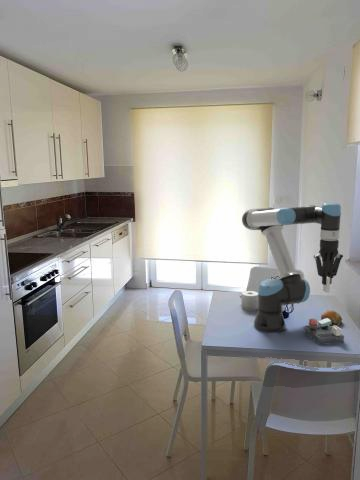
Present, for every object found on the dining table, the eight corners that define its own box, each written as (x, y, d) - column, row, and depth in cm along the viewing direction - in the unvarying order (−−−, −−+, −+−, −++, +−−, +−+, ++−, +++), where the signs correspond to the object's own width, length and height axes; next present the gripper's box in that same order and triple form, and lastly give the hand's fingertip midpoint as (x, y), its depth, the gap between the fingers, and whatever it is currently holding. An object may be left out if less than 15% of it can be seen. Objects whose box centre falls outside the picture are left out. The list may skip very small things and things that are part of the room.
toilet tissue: (243, 302, 226) (244, 288, 224) (261, 308, 216) (261, 293, 214) (233, 305, 220) (233, 291, 219) (251, 312, 210) (251, 297, 209)
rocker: (322, 327, 179) (321, 324, 179) (318, 324, 183) (317, 321, 182) (331, 323, 180) (331, 320, 179) (327, 320, 183) (327, 317, 183)
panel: (318, 344, 169) (319, 336, 169) (304, 331, 183) (304, 324, 182) (343, 342, 171) (344, 334, 170) (327, 329, 185) (327, 322, 184)
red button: (311, 326, 178) (311, 321, 178) (307, 323, 182) (307, 318, 181) (318, 326, 179) (318, 321, 178) (314, 323, 182) (314, 318, 182)
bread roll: (341, 328, 195) (343, 313, 196) (339, 327, 186) (341, 310, 188) (321, 325, 200) (323, 310, 201) (318, 323, 191) (320, 307, 193)
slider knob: (336, 335, 170) (336, 328, 170) (331, 332, 174) (332, 325, 173) (340, 335, 171) (341, 328, 170) (336, 332, 174) (336, 324, 173)
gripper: (320, 241, 159) (317, 295, 163) (348, 240, 161) (344, 293, 166) (311, 238, 166) (308, 289, 171) (338, 237, 168) (334, 287, 173)
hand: (326, 291), depth 168 cm, fingers closed
